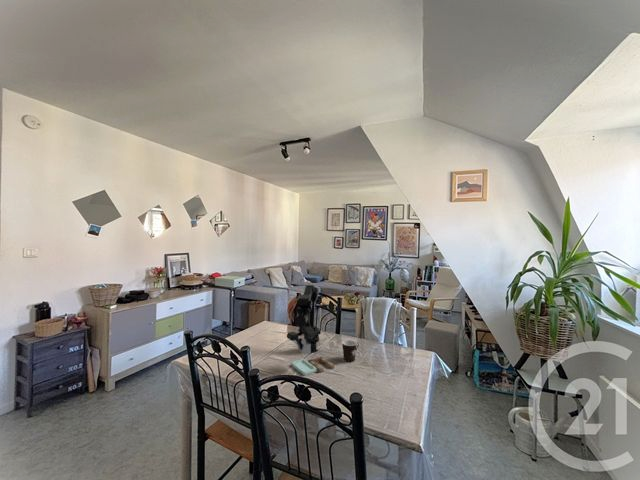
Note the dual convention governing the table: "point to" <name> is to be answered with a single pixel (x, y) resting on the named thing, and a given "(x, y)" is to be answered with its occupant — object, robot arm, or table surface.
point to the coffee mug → (349, 350)
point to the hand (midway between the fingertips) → (304, 348)
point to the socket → (322, 360)
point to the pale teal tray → (304, 367)
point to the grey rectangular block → (305, 347)
